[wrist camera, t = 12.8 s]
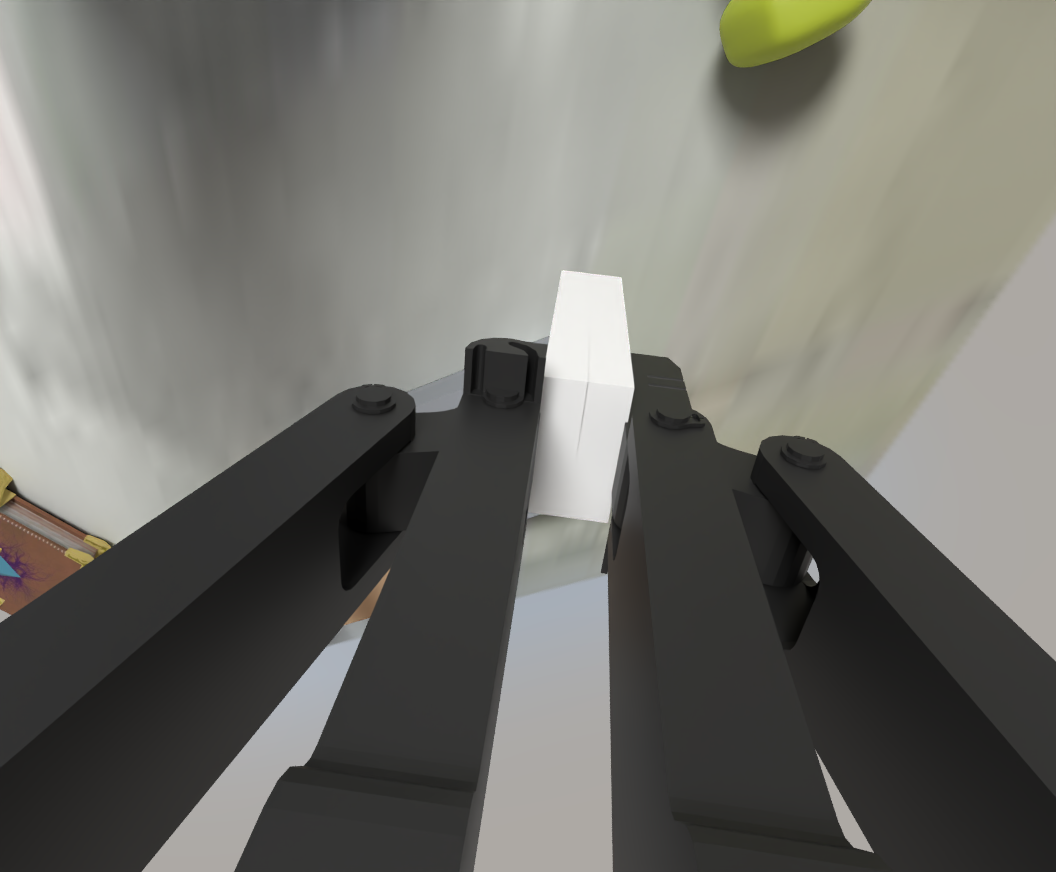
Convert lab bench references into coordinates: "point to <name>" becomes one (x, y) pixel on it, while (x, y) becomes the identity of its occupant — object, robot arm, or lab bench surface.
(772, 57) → the dumbbell
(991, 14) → the lab bench surface
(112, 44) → the lab bench surface
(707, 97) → the lab bench surface
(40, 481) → the lab bench surface
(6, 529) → the book
